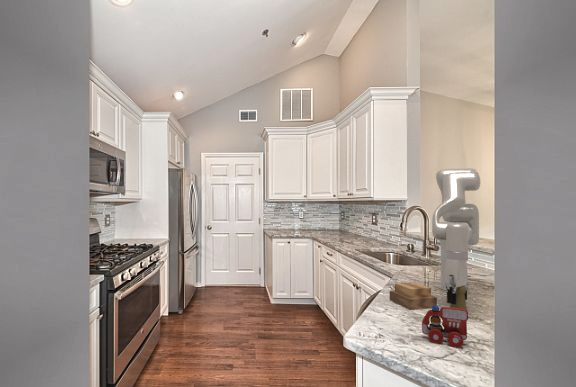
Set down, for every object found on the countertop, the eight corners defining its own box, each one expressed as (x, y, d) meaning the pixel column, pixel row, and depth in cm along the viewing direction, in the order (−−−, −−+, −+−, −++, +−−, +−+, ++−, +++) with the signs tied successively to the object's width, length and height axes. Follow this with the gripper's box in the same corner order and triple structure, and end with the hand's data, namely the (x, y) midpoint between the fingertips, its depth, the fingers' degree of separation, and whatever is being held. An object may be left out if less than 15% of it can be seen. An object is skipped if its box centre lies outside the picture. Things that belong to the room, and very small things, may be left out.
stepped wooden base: (414, 298, 137) (414, 281, 137) (436, 307, 124) (436, 288, 125) (389, 300, 133) (389, 282, 133) (409, 310, 121) (409, 290, 121)
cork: (465, 312, 120) (465, 283, 120) (469, 317, 114) (469, 286, 114) (448, 310, 122) (448, 281, 122) (450, 315, 116) (450, 285, 116)
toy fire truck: (422, 332, 99) (422, 299, 99) (467, 341, 93) (467, 306, 94) (421, 341, 93) (421, 305, 93) (469, 350, 87) (469, 312, 87)
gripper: (456, 253, 127) (456, 295, 126) (436, 256, 116) (436, 302, 115) (476, 255, 122) (476, 300, 121) (457, 259, 110) (458, 307, 109)
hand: (457, 301), depth 118 cm, fingers open, 9 cm apart
